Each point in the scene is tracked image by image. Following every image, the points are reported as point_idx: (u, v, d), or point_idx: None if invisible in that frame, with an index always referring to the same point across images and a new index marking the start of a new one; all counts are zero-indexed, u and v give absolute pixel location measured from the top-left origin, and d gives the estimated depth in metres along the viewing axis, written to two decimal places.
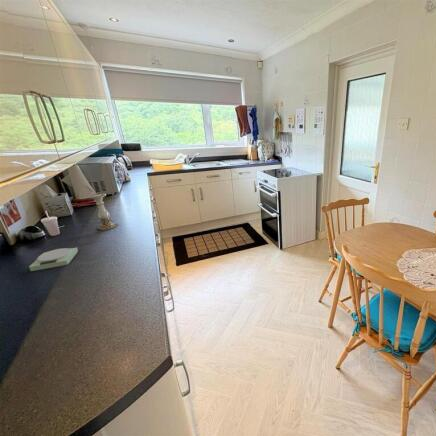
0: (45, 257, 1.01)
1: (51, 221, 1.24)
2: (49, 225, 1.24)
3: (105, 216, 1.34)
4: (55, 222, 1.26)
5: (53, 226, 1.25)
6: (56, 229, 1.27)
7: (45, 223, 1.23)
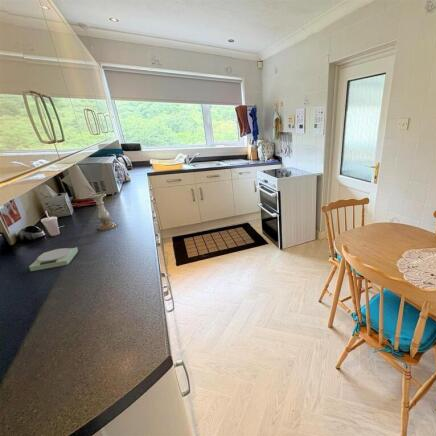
0: (45, 257, 1.01)
1: (51, 221, 1.24)
2: (49, 225, 1.24)
3: (105, 216, 1.34)
4: (55, 222, 1.26)
5: (53, 226, 1.25)
6: (56, 229, 1.27)
7: (45, 223, 1.23)
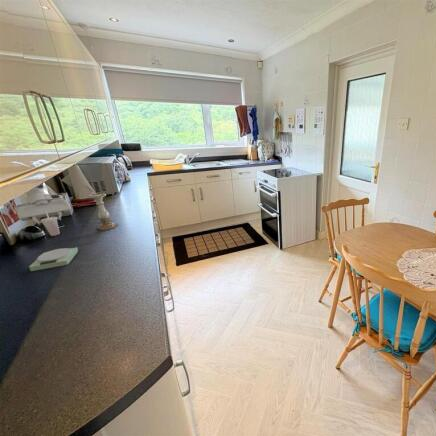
0: (45, 257, 1.01)
1: (51, 221, 1.24)
2: (49, 225, 1.24)
3: (105, 216, 1.34)
4: (55, 222, 1.26)
5: (53, 226, 1.25)
6: (56, 229, 1.27)
7: (45, 223, 1.23)
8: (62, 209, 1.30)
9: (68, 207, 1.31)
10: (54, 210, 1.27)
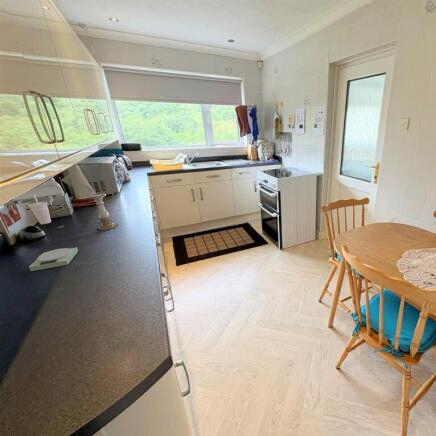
0: (45, 257, 1.01)
1: (40, 206, 1.06)
2: (38, 211, 1.06)
3: (105, 216, 1.34)
4: (45, 208, 1.08)
5: (43, 212, 1.07)
6: (46, 216, 1.09)
7: (33, 209, 1.05)
8: (54, 193, 1.11)
9: (61, 191, 1.13)
10: (44, 194, 1.09)
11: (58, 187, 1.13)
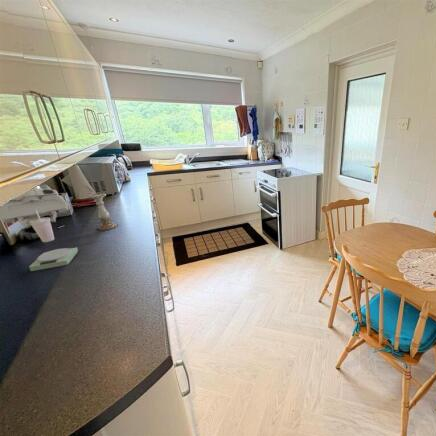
0: (45, 257, 1.01)
1: (43, 223, 0.96)
2: (40, 228, 0.96)
3: (105, 216, 1.34)
4: (48, 224, 0.98)
5: (45, 230, 0.98)
6: (49, 233, 0.99)
7: (35, 226, 0.95)
8: (57, 208, 1.02)
9: (65, 205, 1.04)
10: (47, 209, 1.00)
11: (62, 201, 1.04)
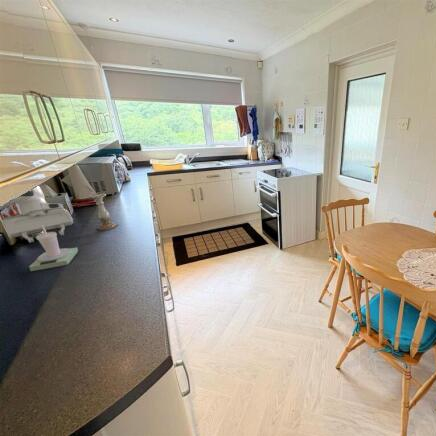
0: (45, 257, 1.01)
1: (49, 238, 0.99)
2: (47, 243, 0.99)
3: (105, 216, 1.34)
4: (54, 239, 1.01)
5: (52, 244, 1.00)
6: (55, 248, 1.02)
7: (42, 241, 0.98)
8: (62, 221, 1.04)
9: (70, 219, 1.06)
10: (52, 223, 1.02)
11: (67, 215, 1.06)
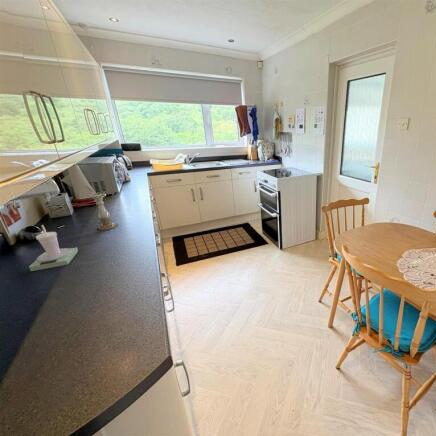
0: (45, 257, 1.01)
1: (49, 238, 0.99)
2: (47, 243, 0.99)
3: (105, 216, 1.34)
4: (54, 239, 1.01)
5: (52, 244, 1.00)
6: (55, 248, 1.02)
7: (42, 241, 0.98)
8: (48, 190, 1.08)
9: (56, 188, 1.09)
10: (39, 191, 1.05)
11: (53, 184, 1.09)
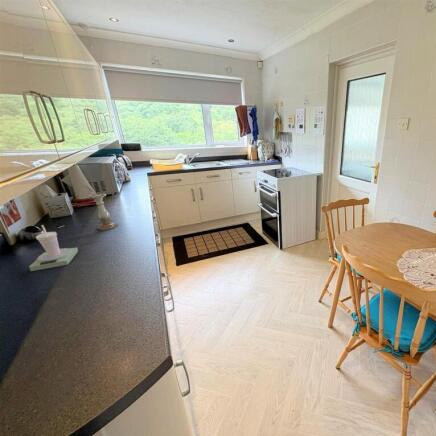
0: (45, 257, 1.01)
1: (49, 238, 0.99)
2: (47, 243, 0.99)
3: (105, 216, 1.34)
4: (54, 239, 1.01)
5: (52, 244, 1.00)
6: (55, 248, 1.02)
7: (42, 241, 0.98)
8: None
9: None
10: None
11: None
